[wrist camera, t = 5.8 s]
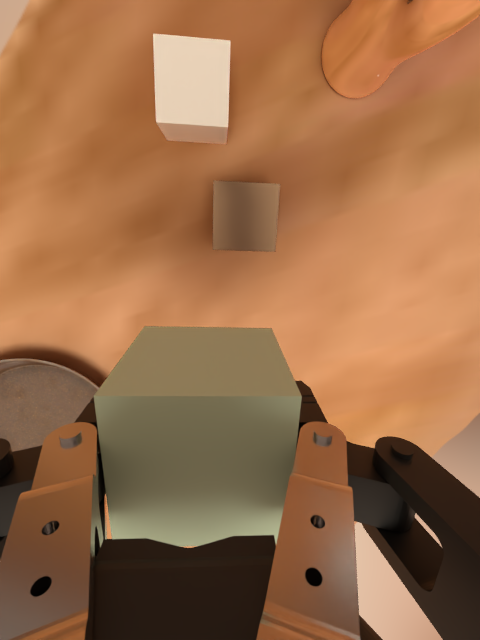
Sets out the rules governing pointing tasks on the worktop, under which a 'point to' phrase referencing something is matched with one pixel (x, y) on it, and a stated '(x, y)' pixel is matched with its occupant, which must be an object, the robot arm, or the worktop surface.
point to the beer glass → (386, 38)
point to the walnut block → (245, 216)
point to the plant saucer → (39, 399)
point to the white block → (192, 88)
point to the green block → (198, 435)
